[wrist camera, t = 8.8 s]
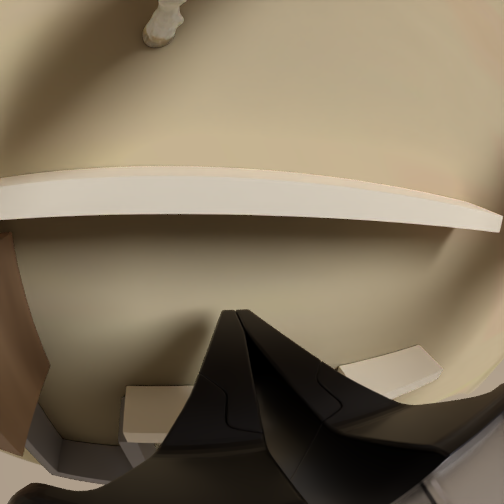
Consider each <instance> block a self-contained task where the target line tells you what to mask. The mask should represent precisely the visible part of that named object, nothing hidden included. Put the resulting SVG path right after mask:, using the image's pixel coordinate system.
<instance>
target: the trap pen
mask: <svg viewBox="0 0 504 504" xmlns="http://www.w3.org/2000/svg"><path fill="white" fill-rule="evenodd" d="M120 214H232V215H270V216H297V217H320V218H339V219H355V220H371V221H385V222H398V223H411V224H422V225H433V226H444V227H454V228H463V229H472V230H481V231H490V232H498V233H499V232H500V228H501V223H502V219H503V216H501V215H499V214H497V213H494V212H492V211H489V210H487V209H484V208H482V207H479V206H477V205H474V204H471V203H469V202H466V201H462V200H458V199H454V198H449V197H445V196H441V195H436V194H431V193H427V192H422V191H417V190H412V189H407V188H402V187H396V186H390V185H385V184H379V183H373V182H366V181H360V180H353V179H346V178H339V177H331V176H323V175H314V174H305V173H296V172H285V171H274V170H261V169H246V168H228V167H201V166H129V167H104V168H87V169H73V170H61V171H51V172H42V173H33V174H25V175H17V176H10V177H4V178H0V220H7V219H22V218H39V217H59V216H84V215H120ZM442 371H443V368H442V367H441V366H440V365H439V364H438V363H437V362H436V361H435V360H434V359H433V358H432V357H431V356H430V355H429V354H428V353H427V352H426V351H425V350H424V349H423V348H422V347H421V346H420V345H416V346H413V347H410V348H407V349H403V350H400V351H397V352H393V353H390V354H386V355H383V356H379V357H375V358H371V359H367V360H363V361H359V362H355V363H351V364H347V365H342V366H339V368H338V372H340V373H341V374H343V375H344V376H346V377H348V378H350V379H352V380H353V381H355V382H357V383H359V384H361V385H363V386H365V387H367V388H369V389H371V390H373V391H375V392H377V393H379V394H381V395H383V396H385V397H387V398H389V399H393V398H396V397H398V396H401V395H403V394H406V393H408V392H410V391H413V390H415V389H417V388H419V387H422V386H424V385H426V384H428V383H430V382H432V381H434V380H436V379H438V378H439V376H440V374H441V372H442ZM193 386H194V385H191V386H126V396H125V397H122V399H121V409H120V420H119V434H118V442H119V444H120V446H109V445H99V444H91V443H83V442H76V441H70V440H64V439H62V438H61V436H60V435H59V434H58V432H57V431H56V430H55V428H54V427H53V425H52V424H51V422H50V421H49V419H48V418H47V416H46V415H45V413H44V412H43V410H42V408H41V407H40V405H39V404H38V402H37V405H36V408H35V411H34V414H33V418H32V421H31V424H30V428H29V432H28V436H27V439H26V444H25V448H26V449H27V450H28V451H29V452H30V453H31V454H32V455H33V456H34V457H35V459H36V460H37V461H38V462H39V463H40V464H41V465H42V466H44V468H46V470H47V471H48V472H49V473H51V474H52V475H56V476H60V477H64V478H69V479H74V480H79V481H85V482H91V483H97V484H105V485H106V484H108V483H109V482H111V481H113V480H115V479H116V478H118V477H120V476H121V475H123V474H125V473H126V472H128V471H130V470H131V469H133V468H134V467H136V466H138V465H139V464H141V463H142V462H144V461H145V460H147V459H148V458H150V457H151V456H152V455H153V454H154V453H155V452H156V448H155V446H154V443H162V442H163V440H164V439H165V437H166V435H167V434H168V432H169V430H170V429H171V427H172V425H173V424H174V422H175V421H176V419H177V417H178V416H179V414H180V412H181V411H182V409H183V407H184V405H185V403H186V401H187V399H188V398H189V396H190V393H191V391H192V389H193Z"/></svg>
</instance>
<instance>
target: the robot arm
mask: <svg viewBox="0 0 504 504" xmlns="http://www.w3.org/2000/svg"><path fill="white" fill-rule="evenodd" d="M8 504H504V383H503V384H501V385H499V386H498V387H497V388H496V389H494V390H493V391H491V392H489V393H486V394H483V395H480V396H476V397H471V398H466V399H461V400H454V401H448V402H440V403H432V404H423V405H407V404H402V403H399V402H396V401H394V400H391V399H389V398H387V397H385V396H383V395H381V394H379V393H377V392H375V391H373V390H371V389H369V388H367V387H365V386H363V385H361V384H359V383H357V382H355V381H353V380H352V379H350V378H348V377H346V376H344V375H343V374H341V373H340V372H338V371H336V370H335V369H333V368H332V367H330V366H329V365H327V364H326V363H324V362H321V361H320V360H319V359H318V358H316V357H315V356H314V355H312V354H311V353H309V352H308V351H306V350H305V349H303V348H302V347H300V346H299V345H297V344H296V343H295V342H293V341H292V340H290V339H289V338H287V337H286V336H285V335H283V334H282V333H280V332H279V331H278V330H276V329H275V328H273V327H272V326H271V325H269V324H268V323H266V322H265V321H264V320H262V319H261V318H259V317H258V316H257V315H255V314H254V313H253V312H251V311H250V310H248V309H243V310H236V311H235V310H223V311H222V312H221V314H220V317H219V320H218V322H217V325H216V328H215V330H214V333H213V336H212V338H211V341H210V344H209V347H208V349H207V352H206V355H205V357H204V360H203V363H202V366H201V368H200V371H199V374H198V376H197V379H196V381H195V384H194V386H193V389H192V391H191V393H190V396H189V398H188V399H187V401H186V403H185V405H184V407H183V409H182V411H181V412H180V414H179V416H178V417H177V419H176V421H175V422H174V424H173V425H172V427H171V429H170V430H169V432H168V434H167V435H166V437H165V439H164V440H163V442H162V443H161V445H160V446H159V448H158V449H157V450H156V452H155V453H154V454H153V455H152V456H151V457H150V458H148V459H147V460H145V461H144V462H142V463H141V464H139V465H138V466H136V467H134V468H133V469H131V470H130V471H128V472H126V473H125V474H123V475H121V476H120V477H118V478H116V479H115V480H113V481H111V482H109V483H108V484H106V485H104V486H102V487H99V488H97V489H93V490H88V491H72V490H66V489H62V488H58V487H54V486H50V485H47V484H41V483H31V484H29V485H27V486H26V487H24V488H23V489H21V490H19V491H18V492H17V493H16V494H15V495H13V496H12V498H11V499H10V500H9V502H8Z"/></svg>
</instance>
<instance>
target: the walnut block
mask: <svg viewBox="0 0 504 504" xmlns="http://www.w3.org/2000/svg"><path fill="white" fill-rule="evenodd" d="M49 368H50V363H49V361H48V359H47V356H46V354H45V351H44V349H43V346H42V344H41V341H40V339H39V336H38V333H37V330H36V328H35V325H34V322H33V319H32V316H31V312H30V309H29V306H28V303H27V299H26V296H25V292H24V288H23V284H22V281H21V276H20V272H19V268H18V263H17V258H16V253H15V248H14V242H13V236H12V232H3V233H0V449H2V450H5V451H7V452H10V453H13V454H16V455H19V456H23V452H24V448H25V444H26V439H27V436H28V432H29V428H30V424H31V421H32V418H33V414H34V411H35V408H36V405H37V401H38V398H39V395H40V392H41V390H42V387H43V384H44V381H45V378H46V376H47V373H48V370H49Z"/></svg>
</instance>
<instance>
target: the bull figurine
mask: <svg viewBox="0 0 504 504" xmlns="http://www.w3.org/2000/svg"><path fill="white" fill-rule="evenodd" d="M186 1H187V0H158V2H159V5H158V8H157V9H156V10H155V11H154V13H153V15H152V18H151V19H150V21H149V22H148V23H147V25H146V26H145V28H144V30H143V41H144V42H145V43H146V44H147V45H148V46H150V47H155V48H156V47H161V46H165V45H166V44H168V43H169V42H170V41H171V40H172V39H173V38H174V35H175V31H176V28H177V27H178V26H180V25H181V24H182V23H183V22H184V19H183V17H182V15H181V14H180V9H179V6H181V5H182V4H183V3H184V2H186Z"/></svg>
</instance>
